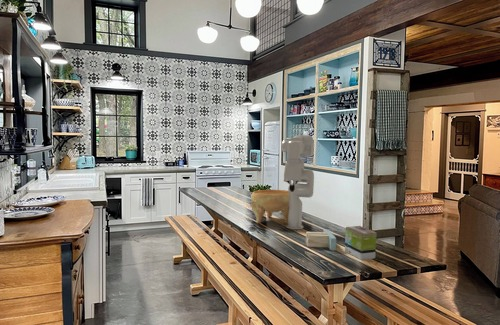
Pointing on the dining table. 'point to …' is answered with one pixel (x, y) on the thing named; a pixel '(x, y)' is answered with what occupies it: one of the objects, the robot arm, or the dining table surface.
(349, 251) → the tea box
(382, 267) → the dining table surface
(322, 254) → the dining table surface
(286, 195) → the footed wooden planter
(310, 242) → the maple brick
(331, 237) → the board
